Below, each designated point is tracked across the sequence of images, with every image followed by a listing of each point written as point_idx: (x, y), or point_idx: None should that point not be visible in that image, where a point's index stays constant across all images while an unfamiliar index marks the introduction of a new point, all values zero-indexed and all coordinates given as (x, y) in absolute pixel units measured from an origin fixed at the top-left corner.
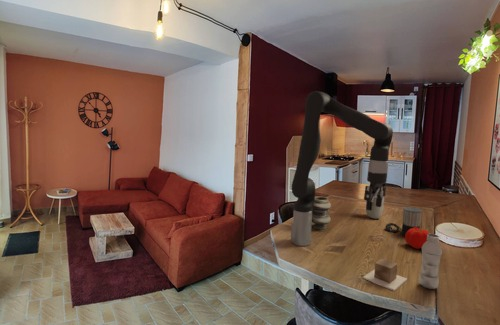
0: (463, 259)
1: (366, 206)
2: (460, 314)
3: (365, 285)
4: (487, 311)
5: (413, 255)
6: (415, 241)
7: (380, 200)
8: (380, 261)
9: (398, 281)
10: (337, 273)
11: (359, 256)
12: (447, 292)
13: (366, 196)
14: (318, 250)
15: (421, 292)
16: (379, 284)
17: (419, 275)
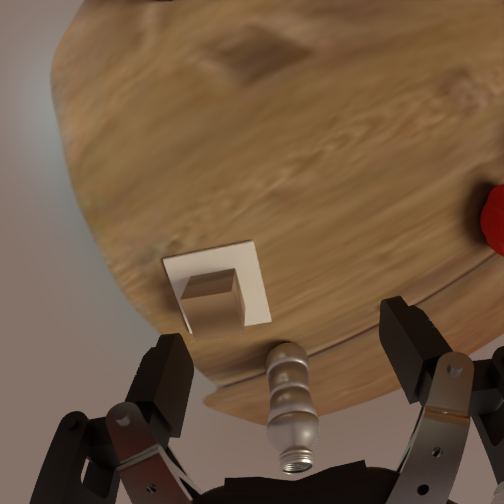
0: (483, 310)
1: (140, 363)
2: (238, 408)
3: (144, 283)
4: None
5: (439, 240)
6: (490, 229)
7: (405, 383)
8: (204, 302)
9: None
10: (116, 202)
11: (283, 143)
12: None
13: (83, 456)
14: (179, 39)
15: (245, 358)
16: (178, 300)
17: (274, 359)
